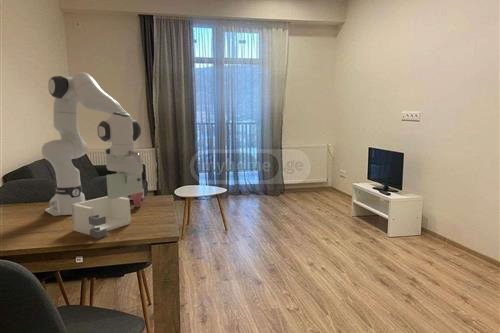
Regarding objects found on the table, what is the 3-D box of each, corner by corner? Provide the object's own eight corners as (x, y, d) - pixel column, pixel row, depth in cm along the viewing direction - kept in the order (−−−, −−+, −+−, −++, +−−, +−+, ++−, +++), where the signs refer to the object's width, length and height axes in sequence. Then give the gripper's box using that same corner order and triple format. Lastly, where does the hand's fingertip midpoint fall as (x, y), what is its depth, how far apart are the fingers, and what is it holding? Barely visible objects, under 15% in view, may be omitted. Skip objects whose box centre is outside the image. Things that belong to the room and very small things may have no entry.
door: (107, 198, 144) (106, 174, 142) (138, 191, 157) (137, 169, 156) (112, 199, 142) (111, 175, 140) (143, 192, 155) (142, 170, 154)
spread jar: (146, 199, 210) (145, 180, 208) (131, 203, 200) (129, 184, 199) (132, 197, 216) (131, 179, 214) (117, 201, 206) (116, 182, 205)
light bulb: (131, 209, 187) (130, 188, 185) (129, 206, 194) (128, 185, 192) (145, 208, 191) (144, 186, 189) (142, 205, 197) (141, 184, 195)
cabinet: (71, 230, 154) (69, 204, 152) (112, 218, 171) (110, 195, 169) (97, 238, 143) (95, 210, 142) (138, 225, 161) (136, 200, 159)
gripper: (145, 151, 144) (147, 183, 146) (114, 148, 155) (116, 178, 157) (133, 152, 139) (135, 186, 141) (102, 149, 150) (104, 181, 152)
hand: (125, 182), depth 149 cm, fingers closed on door, 2 cm apart
